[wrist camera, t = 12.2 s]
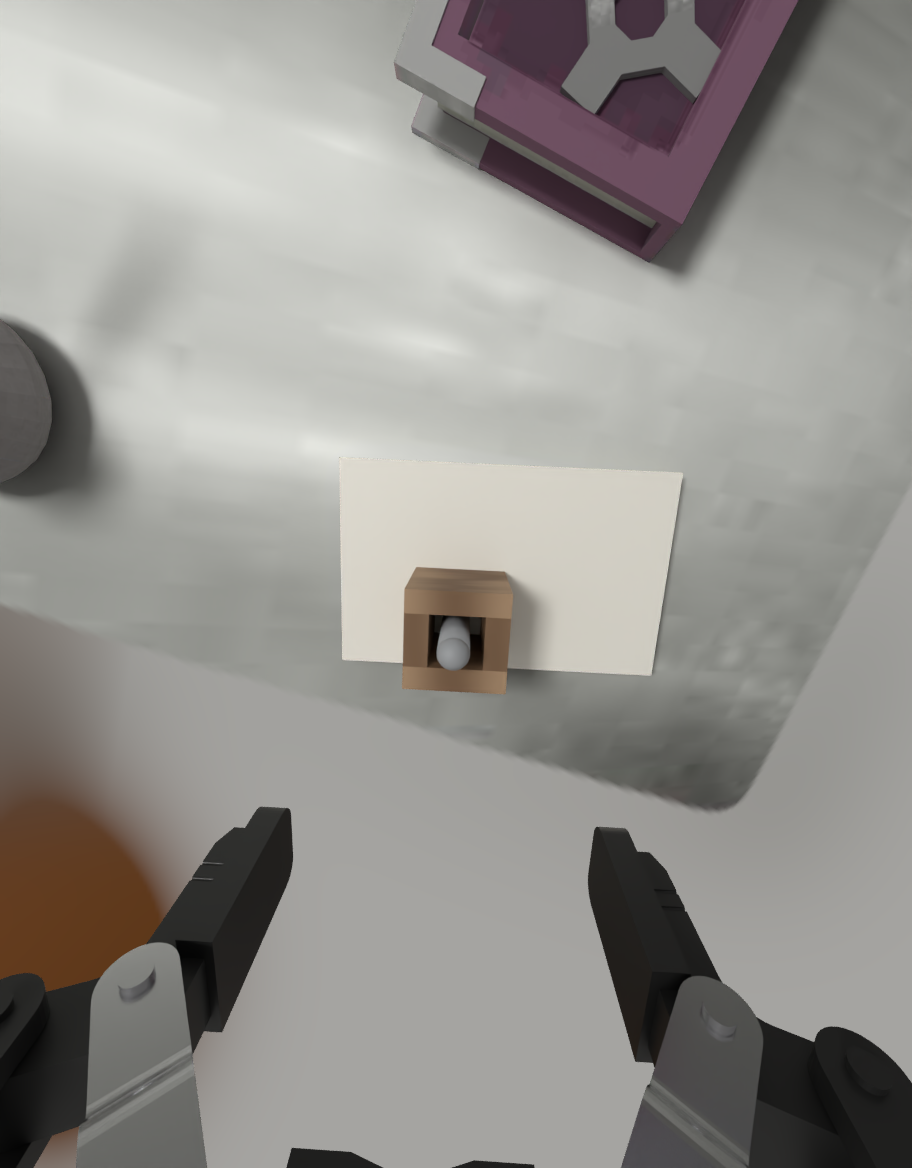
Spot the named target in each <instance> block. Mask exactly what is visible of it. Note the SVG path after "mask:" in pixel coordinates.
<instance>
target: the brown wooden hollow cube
mask: <svg viewBox="0 0 912 1168" xmlns="http://www.w3.org/2000/svg"><path fill="white" fill-rule="evenodd" d="M512 604H513V592H512V590H511V587H510V584H509V582H508V579H507V576H506V574H505V572H504V571H485V570H465V569H445V568H426V567H416V568H415V570H414V572H413V574H412V576H411V578H410V579H409V581H408V583H407V585H406V587H405V589H404V630H403V678H402V689H418V690H436V691H455V692H473V693H491V694H505V692H506V680H507V667H508V655H509V642H510V630H511V617H512ZM435 615H448V616H467V617H481V626H480V635H477V634H470V658H469V661H468V663H467V664H466V665H465V666H464V667H463V668H462V669H459V670H456V671H451V670H447V669H445V668H444V667H442V666H441V664H440V663H439V662H438V659H437V646H438V640H439V635H440V633H439V632H434V629H435Z"/></svg>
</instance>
